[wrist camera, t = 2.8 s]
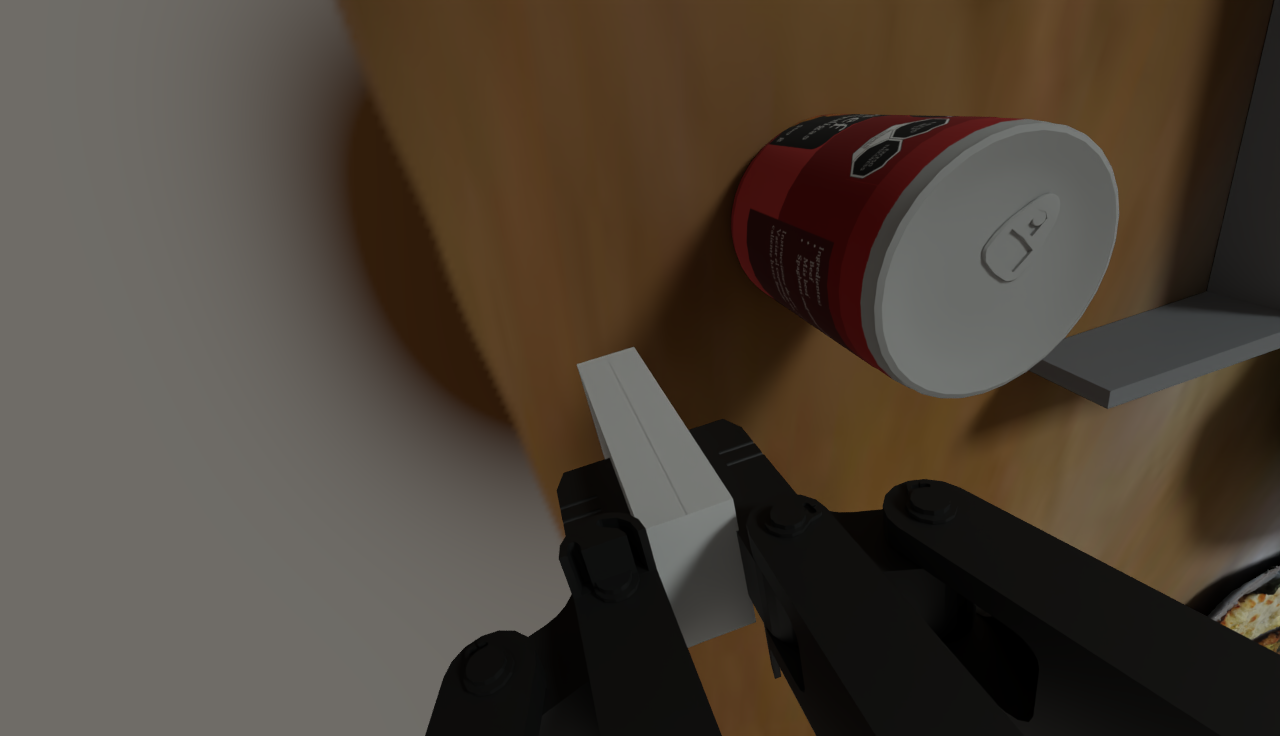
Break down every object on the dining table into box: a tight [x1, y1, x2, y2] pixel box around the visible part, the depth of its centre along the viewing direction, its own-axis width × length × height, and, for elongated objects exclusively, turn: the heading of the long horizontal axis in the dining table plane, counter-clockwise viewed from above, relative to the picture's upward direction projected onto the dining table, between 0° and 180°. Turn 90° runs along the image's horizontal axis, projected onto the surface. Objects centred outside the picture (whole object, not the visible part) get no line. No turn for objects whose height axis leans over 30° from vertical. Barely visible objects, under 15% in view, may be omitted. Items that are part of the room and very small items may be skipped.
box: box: [1029, 0, 1280, 409], centre depth 26 cm, size 24×13×5 cm, turn 13°
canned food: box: [731, 114, 1119, 398], centre depth 21 cm, size 8×8×11 cm
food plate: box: [1207, 566, 1280, 654], centre depth 51 cm, size 25×23×4 cm
